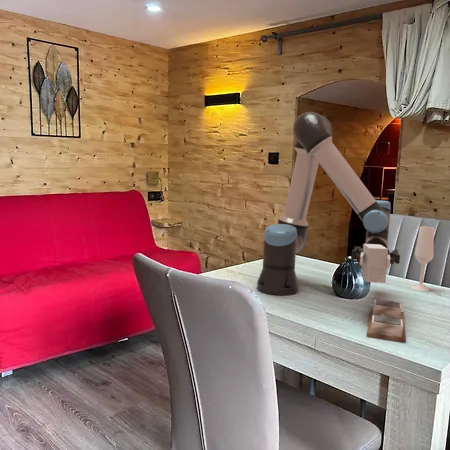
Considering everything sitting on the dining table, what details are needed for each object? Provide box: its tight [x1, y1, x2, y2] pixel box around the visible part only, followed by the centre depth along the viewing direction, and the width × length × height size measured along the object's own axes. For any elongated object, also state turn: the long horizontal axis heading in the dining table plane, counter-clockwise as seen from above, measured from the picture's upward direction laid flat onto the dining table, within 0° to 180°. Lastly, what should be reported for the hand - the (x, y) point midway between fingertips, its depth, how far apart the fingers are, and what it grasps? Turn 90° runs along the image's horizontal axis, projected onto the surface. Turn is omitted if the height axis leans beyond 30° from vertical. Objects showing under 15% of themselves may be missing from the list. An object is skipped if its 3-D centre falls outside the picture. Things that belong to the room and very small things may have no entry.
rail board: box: [366, 298, 407, 343], centre depth 133 cm, size 10×24×4 cm, turn 160°
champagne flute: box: [411, 225, 435, 292], centre depth 172 cm, size 7×7×24 cm
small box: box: [360, 243, 389, 284], centre depth 138 cm, size 8×6×10 cm
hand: (374, 262), depth 133 cm, fingers closed on small box, 7 cm apart
